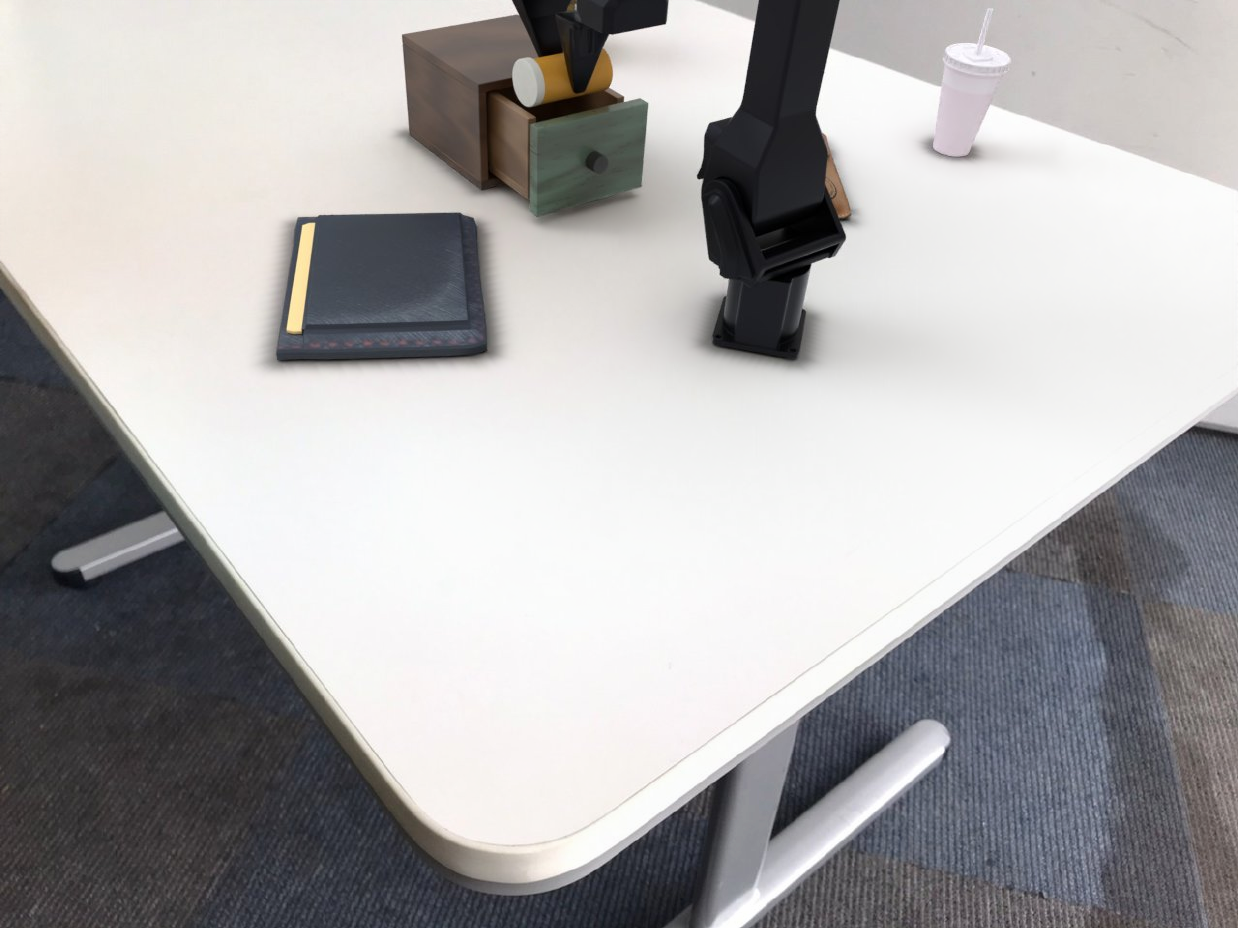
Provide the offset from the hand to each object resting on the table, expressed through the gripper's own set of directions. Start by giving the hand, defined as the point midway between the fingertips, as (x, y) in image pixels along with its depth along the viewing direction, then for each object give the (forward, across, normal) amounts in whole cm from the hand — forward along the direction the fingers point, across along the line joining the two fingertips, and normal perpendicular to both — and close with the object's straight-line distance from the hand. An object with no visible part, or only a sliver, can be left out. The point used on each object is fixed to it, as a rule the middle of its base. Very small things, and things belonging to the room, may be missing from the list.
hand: (566, 84), depth 86 cm
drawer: (+9, +1, 0) cm, 9 cm away
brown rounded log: (+10, -8, -21) cm, 25 cm away
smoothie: (+10, -12, -40) cm, 43 cm away
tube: (+1, 0, 0) cm, 1 cm away
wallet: (+10, -6, +21) cm, 24 cm away
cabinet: (+10, +11, 0) cm, 15 cm away
